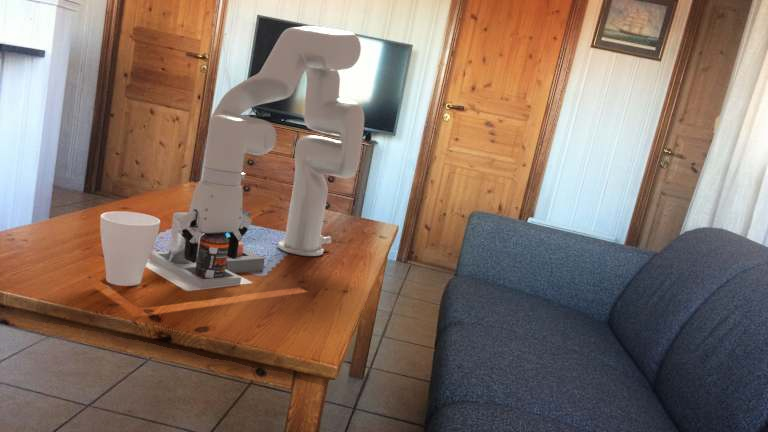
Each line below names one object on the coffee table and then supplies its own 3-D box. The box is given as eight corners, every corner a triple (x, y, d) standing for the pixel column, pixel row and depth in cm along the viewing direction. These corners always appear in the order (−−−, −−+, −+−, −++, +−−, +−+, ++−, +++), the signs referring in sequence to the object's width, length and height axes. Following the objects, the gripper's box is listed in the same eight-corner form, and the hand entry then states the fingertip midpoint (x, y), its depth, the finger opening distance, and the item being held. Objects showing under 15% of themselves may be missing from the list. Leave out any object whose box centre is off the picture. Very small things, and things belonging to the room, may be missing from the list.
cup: (115, 299, 112) (123, 226, 109) (81, 281, 117) (88, 212, 114) (163, 290, 120) (172, 223, 118) (129, 274, 126) (137, 210, 123)
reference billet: (186, 259, 139) (192, 212, 137) (201, 267, 135) (208, 218, 133) (161, 261, 134) (168, 212, 132) (176, 269, 130) (183, 219, 128)
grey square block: (236, 261, 148) (238, 245, 147) (262, 274, 142) (264, 258, 141) (199, 265, 140) (202, 248, 140) (225, 278, 134) (228, 261, 134)
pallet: (200, 260, 144) (201, 249, 143) (252, 288, 131) (254, 276, 131) (134, 265, 132) (136, 253, 131) (185, 296, 119) (187, 283, 119)
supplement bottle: (215, 285, 125) (223, 231, 123) (188, 278, 126) (195, 225, 124) (228, 278, 131) (236, 227, 129) (202, 272, 132) (210, 221, 130)
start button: (235, 252, 143) (237, 240, 143) (245, 257, 141) (247, 245, 140) (220, 253, 140) (222, 241, 140) (231, 258, 138) (233, 245, 137)
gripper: (245, 175, 133) (234, 251, 136) (173, 172, 120) (162, 256, 123) (267, 182, 129) (255, 261, 132) (194, 180, 116) (183, 267, 119)
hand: (210, 258), depth 127 cm, fingers open, 9 cm apart
